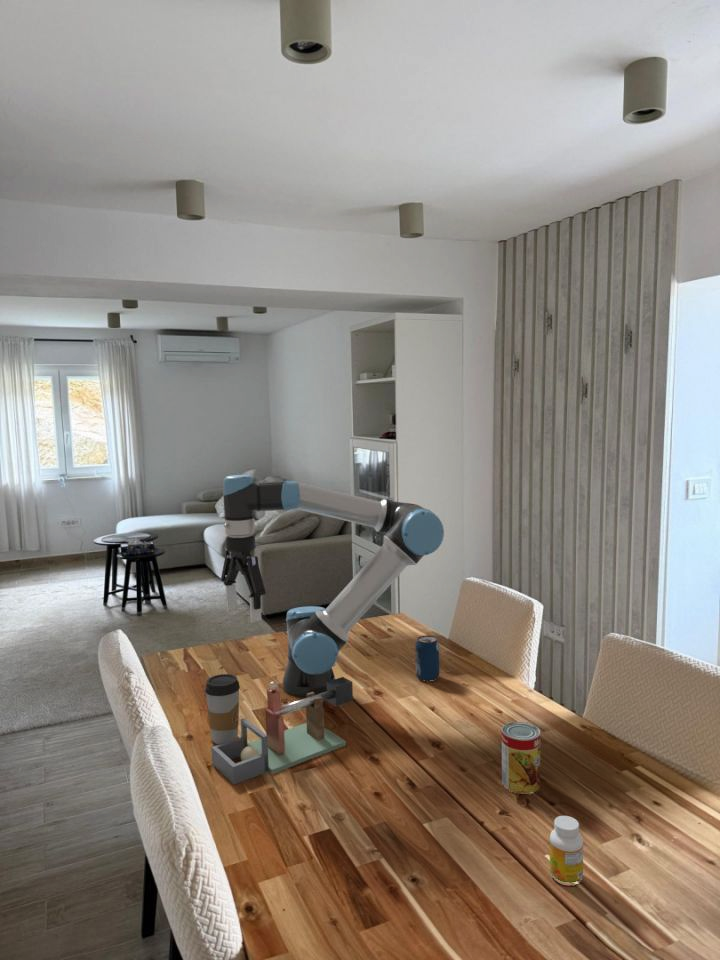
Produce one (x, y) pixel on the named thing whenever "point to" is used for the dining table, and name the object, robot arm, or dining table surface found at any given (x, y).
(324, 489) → the robot arm
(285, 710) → the stand
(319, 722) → the foosball player figure
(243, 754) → the ball
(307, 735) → the mat
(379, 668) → the dining table surface
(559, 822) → the supplement bottle
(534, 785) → the canned food
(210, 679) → the coffee cup
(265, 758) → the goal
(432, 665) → the soda can
